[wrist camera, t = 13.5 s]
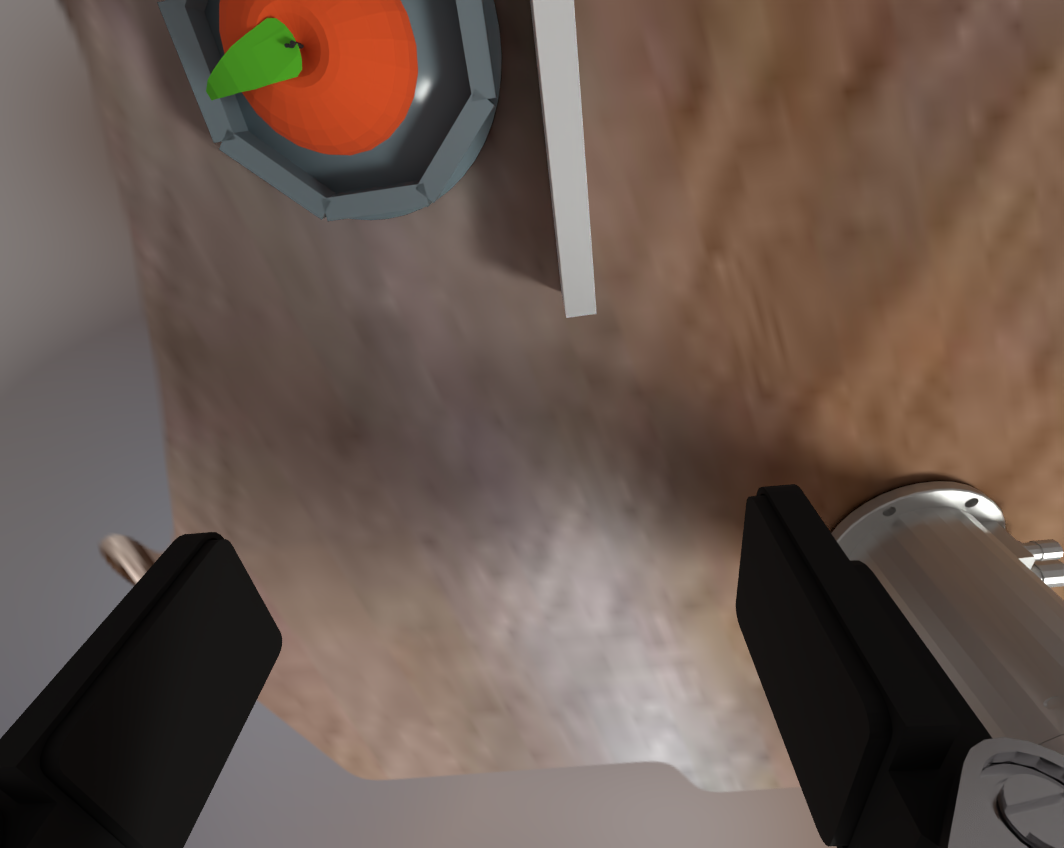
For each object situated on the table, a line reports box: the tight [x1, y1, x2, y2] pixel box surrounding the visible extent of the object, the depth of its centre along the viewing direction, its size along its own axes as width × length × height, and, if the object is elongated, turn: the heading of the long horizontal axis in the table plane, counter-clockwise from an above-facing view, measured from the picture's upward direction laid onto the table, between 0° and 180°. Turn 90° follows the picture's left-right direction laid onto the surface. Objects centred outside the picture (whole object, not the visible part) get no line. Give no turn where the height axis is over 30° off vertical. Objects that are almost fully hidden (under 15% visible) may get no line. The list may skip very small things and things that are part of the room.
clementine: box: [206, 0, 418, 155], centre depth 20 cm, size 8×7×7 cm
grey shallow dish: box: [157, 0, 502, 221], centre depth 22 cm, size 14×14×2 cm
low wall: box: [530, 0, 597, 318], centre depth 21 cm, size 2×24×4 cm, turn 8°
